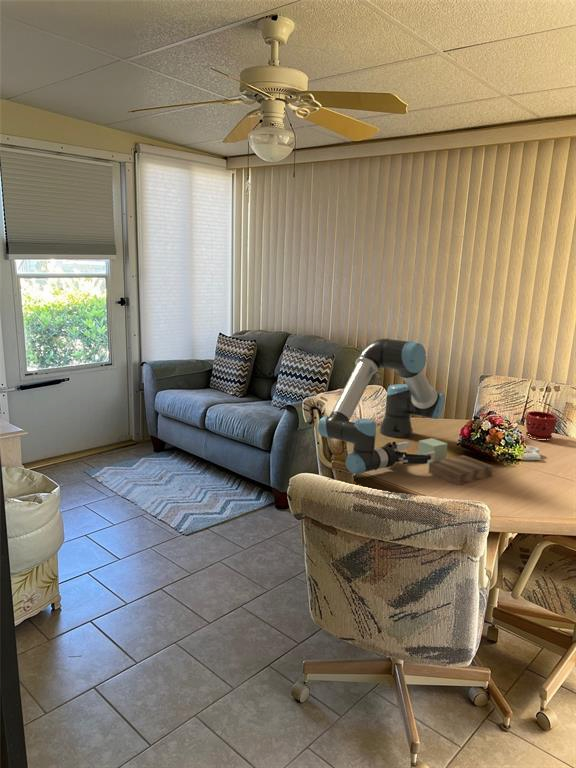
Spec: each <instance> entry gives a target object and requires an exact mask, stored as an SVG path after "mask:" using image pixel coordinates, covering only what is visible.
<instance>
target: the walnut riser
mask: <svg viewBox="0 0 576 768" xmlns="http://www.w3.org/2000/svg"><path fill="white" fill-rule="evenodd" d="M428 465H429V466H428V473H429V474H431V475H432V476H435V477H438V478H440V479H442V480H445V481H448V482H450V483H451V484H454V485H457V486H461V485H464V484H467V483H471V482H474V481H478V480H482V479H486V478H489V477H493V472H494V465H491V464H489V463H486V462H483V461H480V460H478V459H475V458H472V457H470V456H467V455H464V454H462V455H458V456H452V457H449V458H446V459H444V460H439V461H435V462H431V463H429V464H428Z"/></svg>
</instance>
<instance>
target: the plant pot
mask: <svg viewBox="0 0 576 768" xmlns="http://www.w3.org/2000/svg"><path fill="white" fill-rule="evenodd" d="M525 418H526V419H525V428H526V431H525V435H526V436H529V437H532V438H536V439H546V440H547V439H551V438H553V435H552V434H553V433H554V431H555V430H556V429H555V428H556V423H557V419H558V418H557V416H556V415H555V414H553V413H550V412H545V411H540V410H539V411H535V410H532V411H528V412H526V416H525ZM528 434H530V435H531V436H530V435H528ZM529 437H528V438H529ZM551 440H552V439H551Z"/></svg>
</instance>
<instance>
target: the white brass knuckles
mask: <svg viewBox="0 0 576 768" xmlns="http://www.w3.org/2000/svg"><path fill="white" fill-rule="evenodd" d="M525 446H526V453H525V454H524V456H523V458H522V460H521V461H534V460H540V461H541V460H542V458H541V455H540V449H539V448H538V447H535V446H531V445H528V446H527V445H525Z"/></svg>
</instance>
